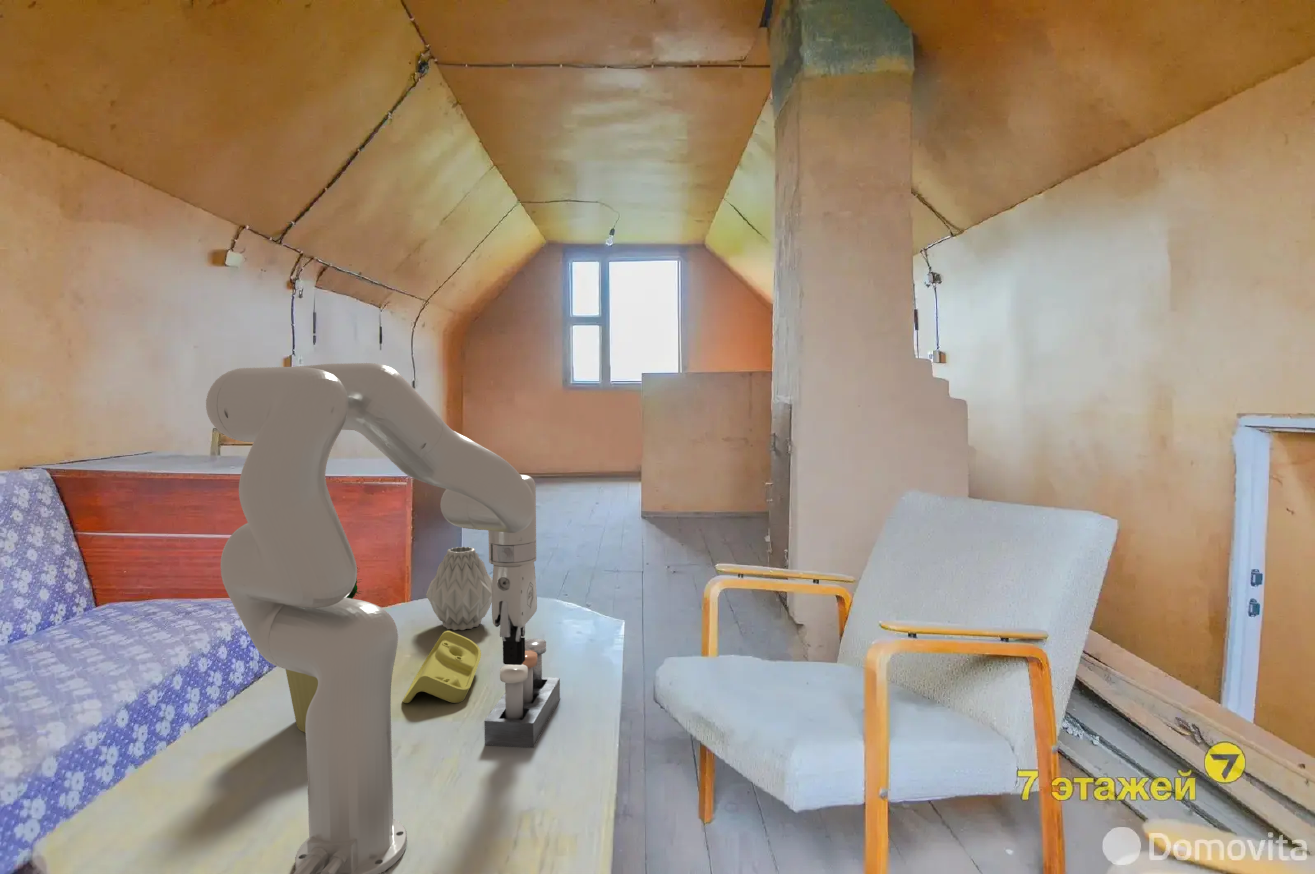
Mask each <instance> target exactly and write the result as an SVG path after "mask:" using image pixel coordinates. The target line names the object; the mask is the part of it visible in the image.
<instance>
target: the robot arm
mask: <svg viewBox="0 0 1315 874" xmlns="http://www.w3.org/2000/svg"><path fill="white" fill-rule="evenodd" d="M205 408H206V409H205V410H206V414H207V416H208V419H209V421H210V423H211V424H212V425H213V427H214V428H215V429H216V430H217V431H218V432H220V433H221V434H222V435H224V436H225V437H227V438H230V439H232V440H234V441H238V442H245V443H252V445H251V447H250V449H249V452H248V454H247V456H246V459H245V461H244V464H243V467H242V469H241V473H240V476H239V477H240V478H239V480H238V481H239V482H238V498H239V504H240V506H241V509H242V511H243V515H244V516H245V519H246V523H244V524H243V525H241V526H240V527H238V528H236V530H235V531H234V532H233V533H232V534H231V535H230V536H229V537H228V539H227V541H226V543H225V545H224V547H223V549H222V551H221V552H222V553H221V558H220V577H221V579H222V584H223V586H224V588H225V589H224V590H225V591H226V593H227V595H228V597H229V600H230V601H231V603H232V605H233V607H234V609H235V611H236V613H237V615H238V617H239V619H240V620H241V622H242V625H243V626H244V628H245V630H246V632H247V634H248V636H249V638H250V640H251V642H252V643H253V645H254V647H255V648H256V650H257V651H258V653H259V654H260V656H262V657H263V659H265V661H266V662H269V663H270V664H271V665H273V666H275V667H278V668H280V669H285V670H286V669H287V670H291V671H295V672H299V673H303V674H307V675H309V676H313V677H316V678H317V680H318V687H317V690H316V693H315V695H314V697H313V699H312V701H311V703H310V705H309V708H308V711H307V715H306V724H305V732H306V733H305V744H306V746H305V747H306V773H307V806H308V809H307V810H308V833H309V834H308V838H306V840H305V841H304V842H303V843H302V844H300V846H299V848H298V850H297V851H296V854H295V857H294V858H295V863H294V864H295V865H294V866H295V871H294V873H293V874H382V873H384V872H386V870H387V871H388V870H389V869H390V868H391V867H393V866H394V865H395V864H396V863H397V862H398V861H399V860H400V858H401V857H402V855H403V854H404V853H405V850H406V848H407V845H408V844H407V842H408V836H407V835H408V834H407V829H406V828H405V825H403V824H402V823H401V821H398V820H397V819H395V818H394V795H393V794H394V792H393V791H394V788H393V787H394V785H393V752H392V751H393V749H392V748H393V747H392V742H393V741H392V718H391V717H392V714H391V713H392V711H391V709H392V708H391V707H392V706H391V704H392V701H391V697H392V681H393V673H394V665H395V661H396V657H397V650H398V643H399V632H398V627H397V624H396V622H395V620H394V619H393V617H392V616H391V614H390V613H389V612H388V611H387V610H385V609H384V608H382V607H381V606H379V605H377V604H375V603H372V602H369V601H365V600H361V599H355V598H353V599H351V598H346V597H347V596H348V595H349V594H350V592H351V591H352V589H353V587H354V585H355V583H356V579H357V580H358V569H357V567H358V565H357V562H356V558H355V555H354V552H353V549H352V547H351V544H350V542H349V539H348V537H347V534H346V532H345V529H344V528H343V527H344V526H343V525H342V522H341V520H340V518H339V516H338V512H337V510H336V508H335V505H334V503H333V501H332V498H331V495H330V492H329V489H328V486H327V480H326V470H327V464H328V461H329V457H330V454H331V451H332V449H333V448H334V447H333V446H334V445H335V443H336V441H337V438H339V435H340V433H341V431H355V432H358V433H360V434H361V435H362V436H364V438H365V439H367V441H369V442H370V443H371V444H372V445H373V446H375V447H376V448H377V449H378V451H380V452H381V453H382V454H384V456H385V457H387V459H389V461H390V462H391V463H393V464H394V466H396V467H397V468H398V469H399V470H400V471H401V472H402V473H403V474H404V475H407V476H408V477H411V478H413V479H415V480H417V481H420V482H422V483H426V484H428V485H431V486H435V487H438V488H442V489H445V490H444V492H443V494H442V496H441V498H440V511H441V513H442V516H443V518H444V519H445V520H446V521H447V522H448V523H450V524H451V525H453V526H455V527H457V528H462V529H467V530H475V531H476V530H477V531H488V532H487V533H488V563H489V564H490V565H492V566H493V569H492V603H491V618H492V619H491V621H492V624H493V626H494V627H496V628H497V627H499V637H500V638H501V639H502V663H503V665H522V663H523V662H524V661H525V640H526V637H525V635H526V624H527V623H528V622H529V621H530V619H532V617H533V616H534V615H535V614H536V612H537V610H538V598H537V596H538V595H537V578H536V569H535V567H536V566H535V562H536V561H537V501H536V500H537V499H536V498H537V492H536V490H537V489H536V482H535V480H534V478H533V477H532V476H530V475H527V474H520V473H519V472H518V470H517V469H516V468H515V467H514V466H513V465H511V463H510V462H508V460H506V459H504V458H503V457H502V456H500V455H499V454H497V453H495V452H493V451H492V450H490V449H488V448H486V447H484V446H483V445H481V444H479V443H477V442H476V441H474V440H472V439H471V438H468V437H467V436H465V435H462V434H461V433H459V432H457V431H455V430H453V429H452V428H450V426H449V425H448V424H447V423H445V421H444V420H443V419H442V418H441V417H440V416H439V415H438V413H436V411H435V410H434V409H433V408H432V407H431V406H430V405H429V404H428V403H427V402H426V400H424V398H423V397H422V396H421V395H420V394H419V393H418V392H417V391H416V389H415V388H414V387H413V386H412V384H410V383H409V382H408V381H407V380H406V379H405V378H404V377H403V375H401V374H400V372H398V371H397V370H396V369H394V368H393V367H391V366H388V365H385V364H382V363H373V362H360V363H359V362H355V363H354V362H352V363H323V364H311V365H300V366H299V365H298V366H297V365H296V366H274V367H273V366H271V367H270V366H269V367H267V366H266V367H240V368H235V369H232V370H230V371H226V372H225V373H224V374H221V376H219V377H218V378H217V379H215V381H214V382H213V383H212V385H211V386H210V387H209V390H208V392H207V394H206V400H205Z"/></svg>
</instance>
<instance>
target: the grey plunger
mask: <svg viewBox="0 0 1315 874" xmlns="http://www.w3.org/2000/svg"><path fill="white" fill-rule="evenodd" d="M525 651H534V652H536V653H537V665H536V666H534V667H533V688H535V689H542V677H543V668H542V667H543V665H542V663H543V660H542V658H543V657H542V655H543V654H545V653H546V652H547V641H546V640H544V639H541V638H529V639H525Z"/></svg>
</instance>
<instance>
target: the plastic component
mask: <svg viewBox="0 0 1315 874" xmlns="http://www.w3.org/2000/svg"><path fill="white" fill-rule="evenodd" d="M481 658H482V650H481V649H480V647H479V645H478V644H477V643H475V641H473V640H471V639H470V638H468V637H465V636H463V635H461V634H459V633H457V632H454V631H451V630H444V631H443V632H442V634H441V635H440V636H439V638H438V640H437V641H436V642H435V644H434V646H433V647H432V649H431V650H430V651H429V654H428V655H427V657H426V659H425V660H424V662H423V663H422V665H421V667H420V668H419V669H418V670H417V671H418V672H417V673H416V675H415V676H414V679H413V680H412V682H411V684H410V686H409V688H408V689H407V691H406V693H405V696H404V697H403V699H402V703H404V704H409V703H411V701H413V699H414V698H415V696H416V695H417V694H418V693H420V692H424V693H426V694H429V695H432V696H434V697H436V698H439V699H441V700H444V701H447V702H448V703H451V704H452V703H454V704H459V703H461V702H463V701H464V700H465V698H466V696H467V695H468V692H469V690H470V688H471V686H472V683H473V680H474V677H475V675H476V672H477V669H478V668H479V664H480V661H481Z"/></svg>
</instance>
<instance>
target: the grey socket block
mask: <svg viewBox="0 0 1315 874" xmlns="http://www.w3.org/2000/svg"><path fill="white" fill-rule="evenodd" d="M560 679H561V678H560V677H549V676H548V677H546V676H542V689H535V688H533V704H532V703H523V720H517V719H506V704H505V692H504V693H503V695H502V696H501V697H500V699H499V700H498V702H497V703H496V704H495V706H494V707H493V709H492V710H491V711H490V713H489V714H488V715H487V716H486V718H485V719H484V722H483V723H484V727H483V728H484V746H492V747H494V746H496V747H498V746H499V747H514V748H516V747H517V748H531V749H532V748H534V747H535V746H536V744H537V742H538V740H539V739H540V737H541V735H542V733H543V731H544V730H545V728H546V725H547V724H548V722H549V720H550V718H551V716H552V714H553V713H554V710H555V709H556V708H557V705H558V704H559V702H560V699H561V686H560V685H561V683H560V682H561V680H560Z"/></svg>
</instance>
